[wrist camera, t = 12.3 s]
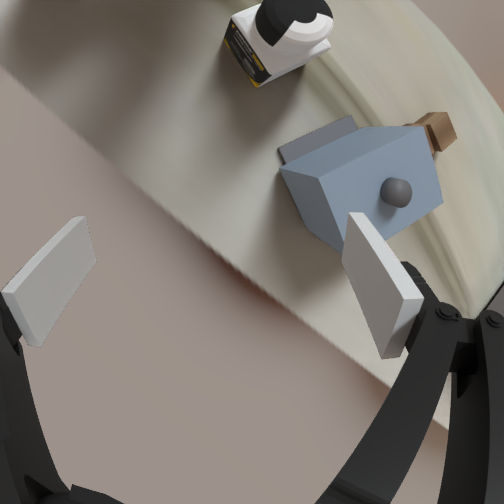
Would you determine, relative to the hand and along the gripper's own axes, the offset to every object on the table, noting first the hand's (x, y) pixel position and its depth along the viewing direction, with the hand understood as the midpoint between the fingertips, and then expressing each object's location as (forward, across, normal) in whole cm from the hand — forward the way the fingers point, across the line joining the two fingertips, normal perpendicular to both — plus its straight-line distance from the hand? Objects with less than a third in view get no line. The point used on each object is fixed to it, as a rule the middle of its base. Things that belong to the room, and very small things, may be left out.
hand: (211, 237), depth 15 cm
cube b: (+27, +26, +3) cm, 38 cm away
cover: (+22, +12, -3) cm, 25 cm away
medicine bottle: (+24, +4, +11) cm, 27 cm away
